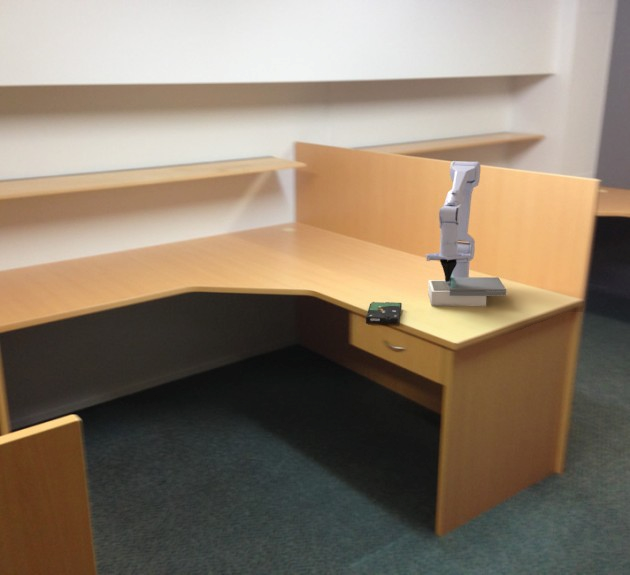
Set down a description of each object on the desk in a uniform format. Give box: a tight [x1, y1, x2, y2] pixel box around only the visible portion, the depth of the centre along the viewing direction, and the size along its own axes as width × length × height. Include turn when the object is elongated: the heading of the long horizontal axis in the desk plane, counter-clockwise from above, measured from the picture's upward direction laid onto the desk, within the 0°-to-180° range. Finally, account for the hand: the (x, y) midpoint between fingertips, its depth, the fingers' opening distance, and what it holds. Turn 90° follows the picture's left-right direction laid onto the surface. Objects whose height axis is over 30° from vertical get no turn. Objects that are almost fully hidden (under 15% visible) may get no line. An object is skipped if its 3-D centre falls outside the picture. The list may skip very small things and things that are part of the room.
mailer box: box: [427, 279, 487, 307], centre depth 235 cm, size 13×18×5 cm
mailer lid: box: [446, 275, 507, 297], centre depth 233 cm, size 15×18×4 cm
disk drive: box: [365, 301, 403, 325], centre depth 222 cm, size 10×3×15 cm
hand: (447, 280), depth 234 cm, fingers closed
